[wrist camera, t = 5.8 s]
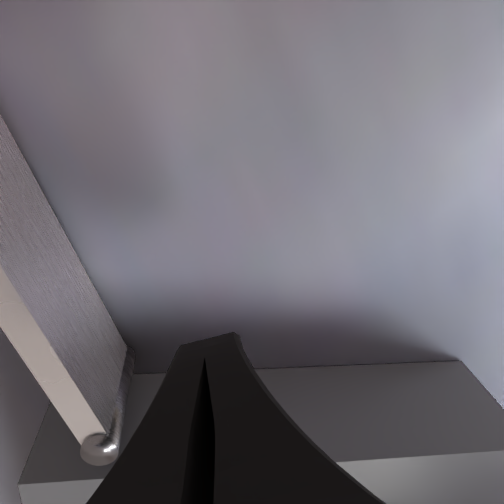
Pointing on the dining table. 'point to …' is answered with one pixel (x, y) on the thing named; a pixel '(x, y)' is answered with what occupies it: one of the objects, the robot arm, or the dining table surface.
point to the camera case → (334, 433)
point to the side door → (59, 314)
